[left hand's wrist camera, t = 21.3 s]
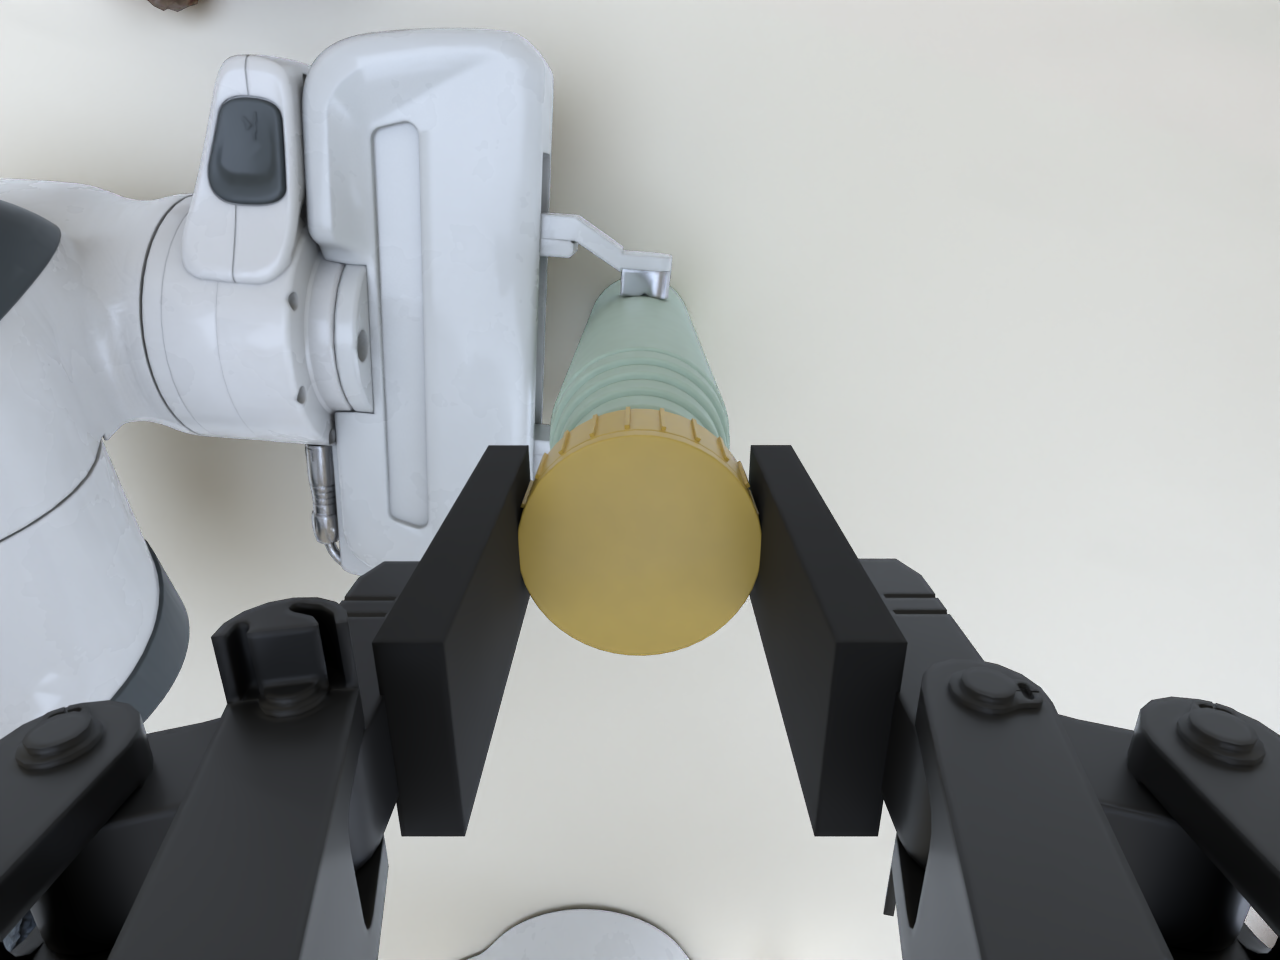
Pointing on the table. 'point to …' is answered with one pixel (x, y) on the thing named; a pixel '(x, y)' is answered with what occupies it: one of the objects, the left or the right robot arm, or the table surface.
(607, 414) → the cap
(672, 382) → the bottle
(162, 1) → the rock
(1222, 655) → the table surface
